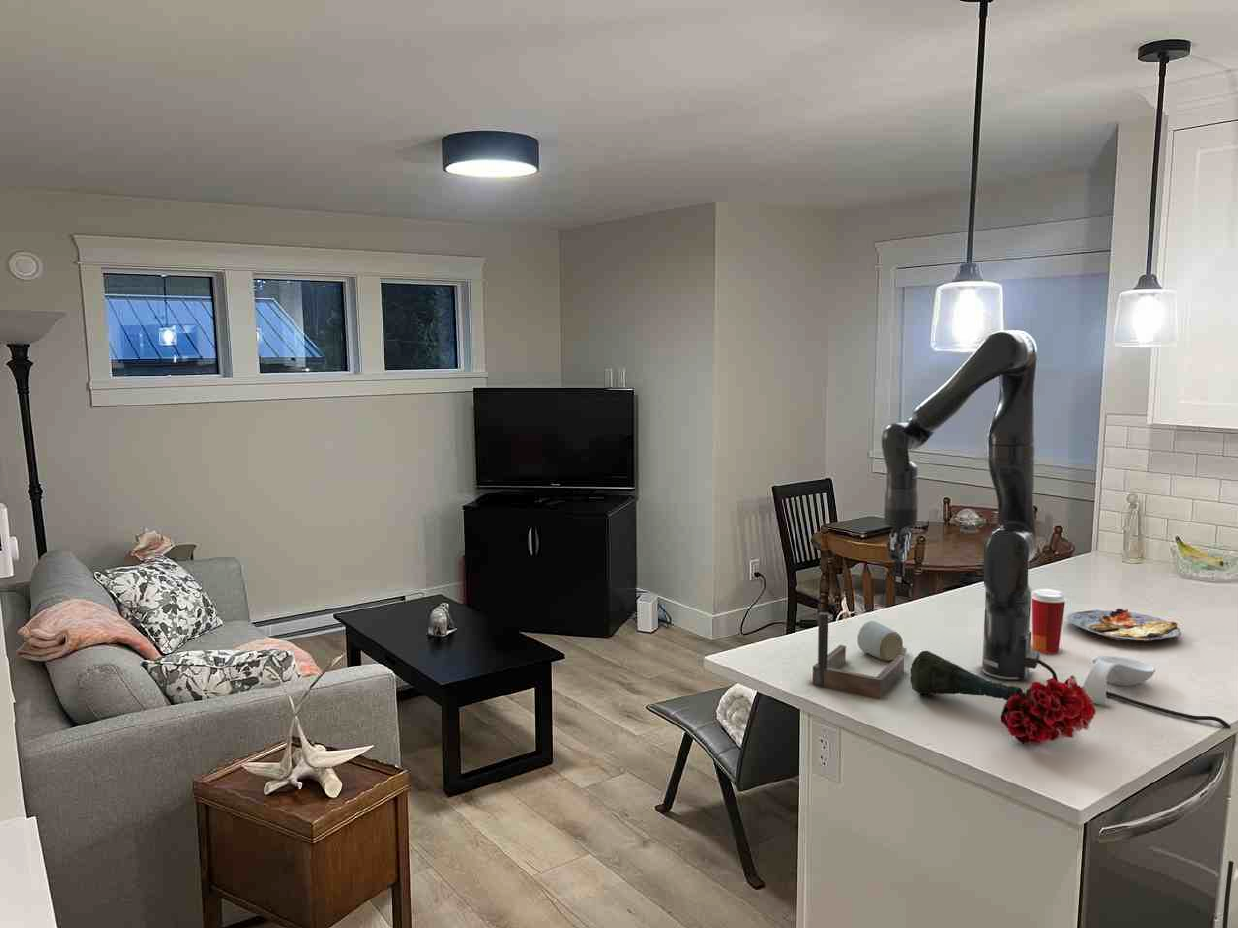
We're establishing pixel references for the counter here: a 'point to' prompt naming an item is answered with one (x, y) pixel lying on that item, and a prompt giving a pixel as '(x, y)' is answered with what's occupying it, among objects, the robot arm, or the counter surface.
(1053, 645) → the paper cup
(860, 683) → the wooden post tray
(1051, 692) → the carnation
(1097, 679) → the spoon rest
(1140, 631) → the food plate
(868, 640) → the ceramic mug
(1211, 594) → the counter surface
